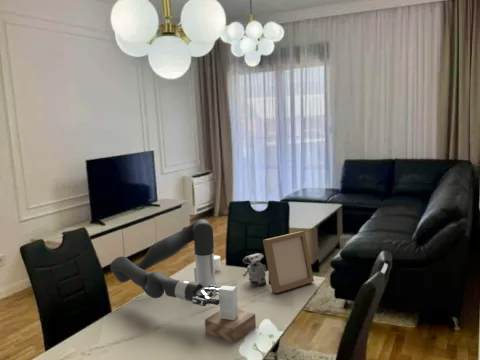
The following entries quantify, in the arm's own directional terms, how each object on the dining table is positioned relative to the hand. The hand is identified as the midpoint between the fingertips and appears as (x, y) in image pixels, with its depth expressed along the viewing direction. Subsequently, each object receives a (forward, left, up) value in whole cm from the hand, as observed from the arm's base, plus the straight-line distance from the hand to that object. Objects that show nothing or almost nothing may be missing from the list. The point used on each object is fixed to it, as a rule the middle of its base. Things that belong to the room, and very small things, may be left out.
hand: (224, 297), depth 170 cm
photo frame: (+6, +50, -13) cm, 52 cm away
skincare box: (+2, 0, -8) cm, 8 cm away
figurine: (-9, +45, -13) cm, 48 cm away
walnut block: (+2, 0, -14) cm, 14 cm away
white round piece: (-38, +56, -13) cm, 69 cm away
